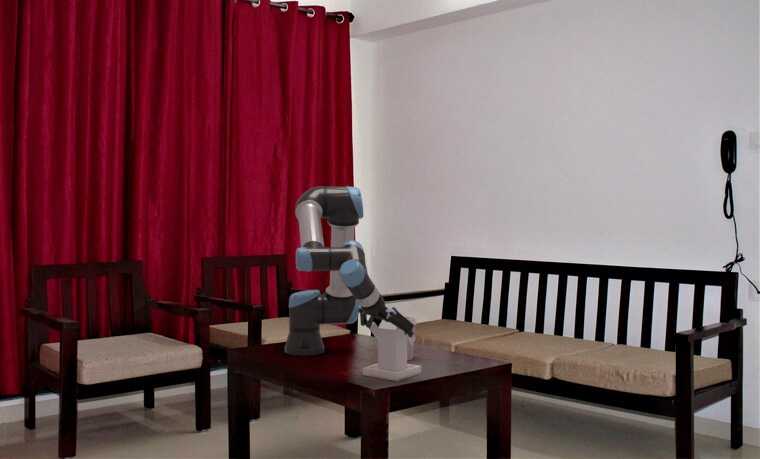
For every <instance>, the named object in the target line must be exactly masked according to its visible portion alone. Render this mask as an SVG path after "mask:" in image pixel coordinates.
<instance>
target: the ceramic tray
mask: <svg viewBox="0 0 760 459" xmlns="http://www.w3.org/2000/svg"><path fill="white" fill-rule="evenodd" d="M421 374H422V366H421V365H417V364H410V363H407V370H404V371H401V372H398V373H396V372H390V371H384V370H378V363H375V364H372V365H368V366H365V367H362V376H366V377H370V378H376V379H382V380H386V381H387V380H388V381H393V382H400V381H403V380H406V379H410V378H411V377H415V376H419V375H421Z"/></svg>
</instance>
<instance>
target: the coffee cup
mask: <svg viewBox="0 0 760 459" xmlns="http://www.w3.org/2000/svg"><path fill="white" fill-rule="evenodd" d="M403 316H404V317H405V318H406V319H408V320H409V321H410V322H411V323H412V324H414V327H413V329H412V331H413V333H414V334H413V335H414V336H415V335H416V334H415V333H416V325H418V323H417V320H416V319H415V317H414V316H405V315H403ZM415 337H416V336H415ZM414 346H415V342H414V343H413V345H411V344H410V343H409V341H408V340H407V361H412V360H413V359H414V356H413V355H414Z"/></svg>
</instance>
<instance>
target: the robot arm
mask: <svg viewBox="0 0 760 459" xmlns="http://www.w3.org/2000/svg"><path fill="white" fill-rule="evenodd" d="M294 208H295V209H294V212H295V217H296V219H297V221H298V225H299V237H300V247H297V248H296V250H295V268H296V270H297V271H299V272H308V273H309V272H328V271H330V272H329V275H330V276H329V285H328V287H327V286H326V288H325V293H321V291H320V290H319V289H309V290H301V291H298V292H293V293H292V294H291V295H290V296H289V298H288V308H289V310H288V312H289V314H288V316H289V319H288V320H289V321H288V326H289V327H288V335H287V338H286V343H285V345H284V353H285V354H286V353H287V354H286V355H289V354H290V356H297V355H299V357H300V356H303V357H304V356H305V357H306V356H308V357H309V356H316V355H317V356H318V355H321V354H323V353H325V345H324V343H323V342H324V341H323V338H322V336H321V330H320V327H321V325H346V324H347V325H348V324H349V325H350V324H354V323H355V322H357V320H358V318H359V317H360V320H359V321H360V326H362V327H364V326H365V327H366V328H368V329H369V331H370V332H371V333H372V334H373V336H374V337H375V339H376V340H377V341H378V327H379V326H378V325H377V324H376V322H375V321H374V319H376V320H381V321H382V320H384V321H386V322H390V323H392V324H393V325H395V326H396V327H398V328H399V329H401V330H403V331H404V332H403V333H404V335H405V337H406V338H407V340H408V341H409V343H410V344H411V345H413V343H414V344H415V341H416V340H417V338H416V336H414V335H413V334H414V333H413V331H412V329H413V327H414V324H412V323H411V322H410V321H409V320H408V319H406V318H405V317H404V316H405V315H403V314H402V313H400V312H399V311H398V309H396V307H394V306H392V308H391V309H390V308H388V307H387V306H386V302H385V299H384V297H383V296H382V294H381V293H380V291H379V289H378V288H377V287H376V285H375V284H374V282H373V281H372V279H371V277H370V276H369V273H368V267H367V263H366V254H365V251H364V248H363V245H362V244H361V243H360V242H359V241H357V240H355V228H356V227H357V226H358V225H359V223H360V220H361V219H363V218H364V204H363V198H362V193H361V190H360V189H359V187H356V186H348V185H344V186H342V185H341V186H335V185H334V186H323V185H321V186H320V185H319V186H318V185H317V186H315V187H312V188H309V189H307V190H306V191H305V192H303V193H302V194H301V195H300V197H299V198H298V199H297V201H296V204H295V207H294ZM321 219H327V224H328V225H329V226H330V227H331V232H330V234H331V236H330V238H331V239H330V246H329V247H328V246H327V247H325V243H324V237H323V228H322V221H321ZM388 315H389V317H388V319H387V316H388ZM368 316H369V318H368Z"/></svg>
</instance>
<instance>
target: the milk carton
mask: <svg viewBox="0 0 760 459" xmlns="http://www.w3.org/2000/svg"><path fill="white" fill-rule="evenodd" d="M388 317H389V314H388V316H387V319H388ZM403 332H404V331H403V330H401V329H399V328H398V327H396V326H395V325H393V324H392V323H390V322H386V321H384V320H381V322H380V323H379V326H378V340H377V364H378V370H384V371H390V372H396V373H398V372H401V371H404V370H407V364H408V360H407V338H406V337H405V335H404V333H403Z"/></svg>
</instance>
